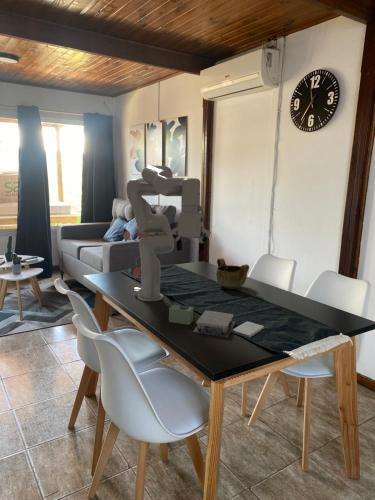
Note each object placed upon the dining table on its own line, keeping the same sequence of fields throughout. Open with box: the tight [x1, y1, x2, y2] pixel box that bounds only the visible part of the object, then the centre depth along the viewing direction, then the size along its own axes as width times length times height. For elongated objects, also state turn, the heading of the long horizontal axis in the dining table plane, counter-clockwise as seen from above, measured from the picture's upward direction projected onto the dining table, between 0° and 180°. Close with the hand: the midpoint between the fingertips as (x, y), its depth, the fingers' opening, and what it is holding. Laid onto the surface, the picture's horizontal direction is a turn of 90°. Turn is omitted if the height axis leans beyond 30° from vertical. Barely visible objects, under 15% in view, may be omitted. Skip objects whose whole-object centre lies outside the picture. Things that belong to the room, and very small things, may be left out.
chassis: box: [192, 309, 236, 339], centre depth 150 cm, size 14×16×4 cm
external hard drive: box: [231, 321, 265, 339], centre depth 148 cm, size 2×8×12 cm
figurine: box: [123, 228, 156, 279], centre depth 214 cm, size 15×26×35 cm, turn 122°
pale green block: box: [168, 304, 194, 325], centre depth 155 cm, size 9×5×7 cm, turn 72°
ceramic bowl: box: [215, 257, 250, 290], centre depth 204 cm, size 22×17×15 cm
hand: (190, 251), depth 151 cm, fingers open, 9 cm apart
